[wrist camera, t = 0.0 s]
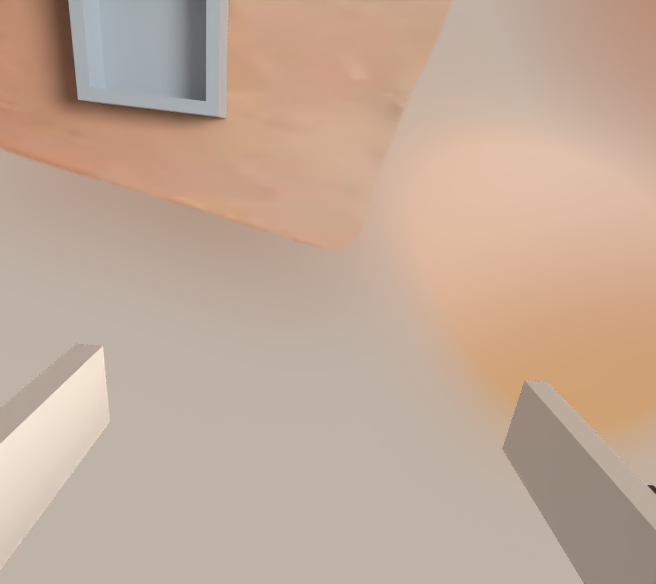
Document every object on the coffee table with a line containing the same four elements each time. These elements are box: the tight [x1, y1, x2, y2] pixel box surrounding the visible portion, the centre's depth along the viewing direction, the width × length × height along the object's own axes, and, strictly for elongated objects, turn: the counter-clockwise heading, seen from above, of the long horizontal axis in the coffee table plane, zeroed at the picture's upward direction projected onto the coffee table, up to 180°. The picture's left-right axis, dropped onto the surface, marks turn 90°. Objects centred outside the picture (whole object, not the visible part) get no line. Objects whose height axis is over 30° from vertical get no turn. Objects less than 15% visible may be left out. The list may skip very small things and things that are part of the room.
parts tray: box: [68, 0, 229, 118], centre depth 32 cm, size 11×11×3 cm
